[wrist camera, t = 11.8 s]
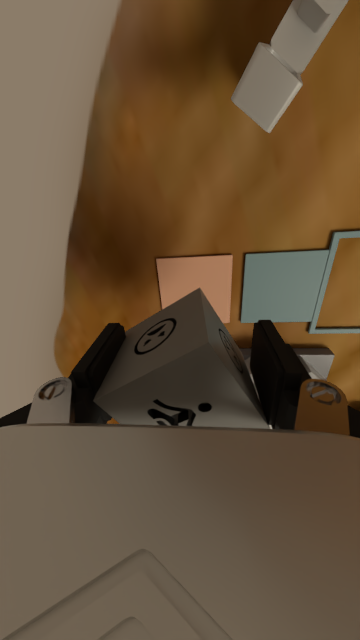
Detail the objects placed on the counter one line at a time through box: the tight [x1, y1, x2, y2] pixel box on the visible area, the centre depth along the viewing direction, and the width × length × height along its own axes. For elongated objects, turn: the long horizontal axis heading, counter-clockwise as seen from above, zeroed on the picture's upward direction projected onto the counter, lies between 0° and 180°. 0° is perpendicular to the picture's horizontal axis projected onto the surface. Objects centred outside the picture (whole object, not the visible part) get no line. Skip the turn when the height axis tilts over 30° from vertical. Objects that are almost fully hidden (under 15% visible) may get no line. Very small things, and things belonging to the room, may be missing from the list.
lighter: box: [231, 0, 348, 133], centre depth 9 cm, size 7×2×8 cm, turn 148°
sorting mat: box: [156, 231, 360, 334], centre depth 17 cm, size 21×8×1 cm, turn 94°
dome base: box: [240, 348, 334, 385], centre depth 21 cm, size 10×10×3 cm
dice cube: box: [93, 287, 270, 429], centre depth 10 cm, size 5×5×5 cm
